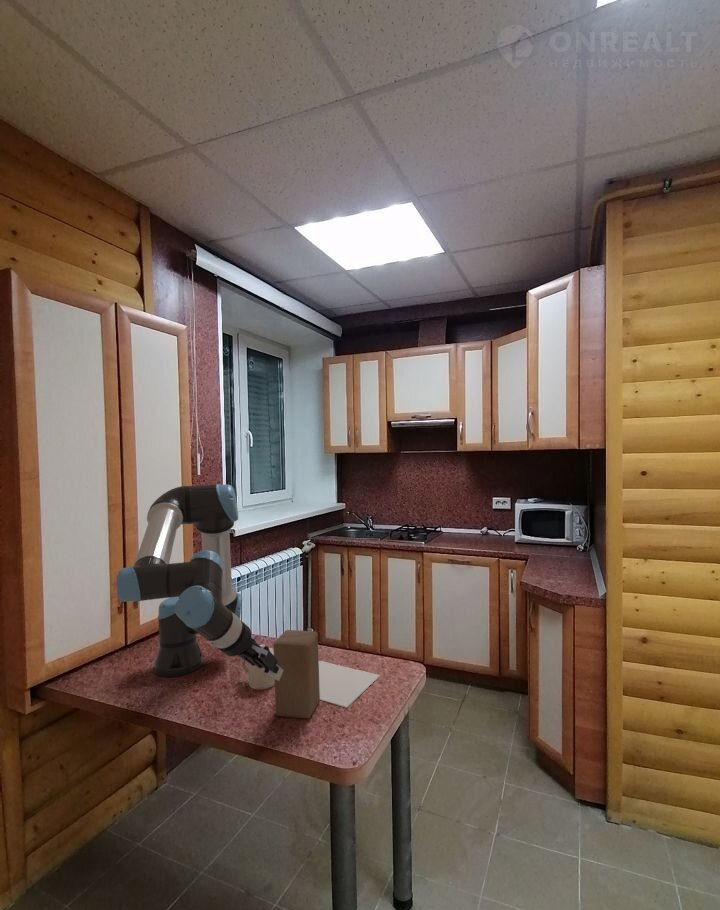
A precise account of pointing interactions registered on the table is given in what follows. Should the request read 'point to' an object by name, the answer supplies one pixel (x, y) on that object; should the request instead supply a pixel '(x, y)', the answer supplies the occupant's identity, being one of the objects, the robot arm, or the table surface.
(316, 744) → the table surface
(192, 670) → the robot arm
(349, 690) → the mat
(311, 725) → the table surface
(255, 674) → the teacup with lid
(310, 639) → the block
